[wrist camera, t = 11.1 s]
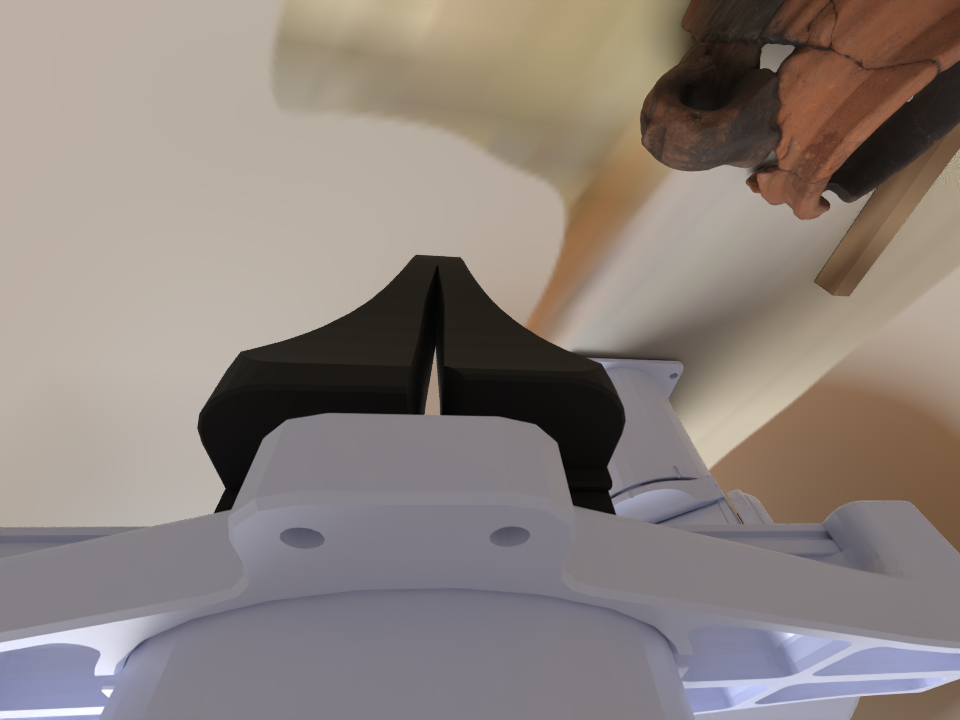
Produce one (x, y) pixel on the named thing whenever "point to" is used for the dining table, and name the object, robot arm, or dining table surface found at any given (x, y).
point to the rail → (885, 217)
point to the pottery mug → (809, 94)
